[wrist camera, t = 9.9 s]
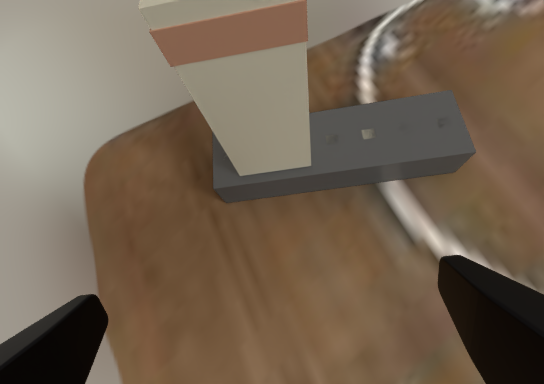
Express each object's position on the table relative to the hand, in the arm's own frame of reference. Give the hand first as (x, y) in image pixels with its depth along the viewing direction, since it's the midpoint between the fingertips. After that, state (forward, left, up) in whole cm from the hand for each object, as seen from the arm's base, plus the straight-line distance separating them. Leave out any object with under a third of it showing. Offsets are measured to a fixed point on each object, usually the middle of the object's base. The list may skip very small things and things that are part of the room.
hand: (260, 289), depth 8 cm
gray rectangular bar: (+9, -2, -9) cm, 13 cm away
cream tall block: (+8, +2, -7) cm, 10 cm away
